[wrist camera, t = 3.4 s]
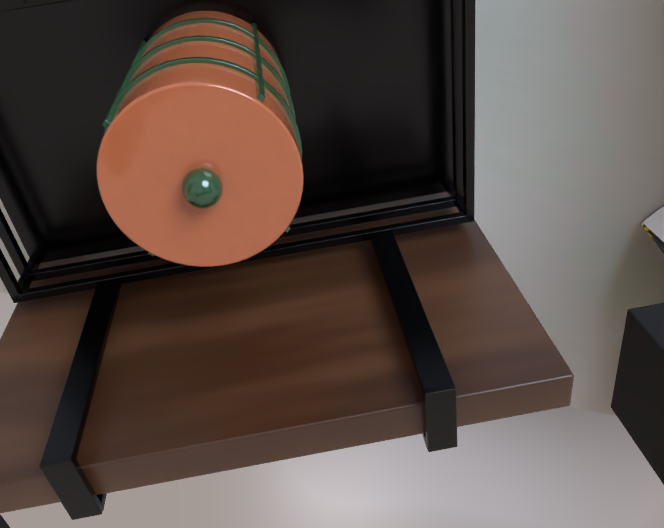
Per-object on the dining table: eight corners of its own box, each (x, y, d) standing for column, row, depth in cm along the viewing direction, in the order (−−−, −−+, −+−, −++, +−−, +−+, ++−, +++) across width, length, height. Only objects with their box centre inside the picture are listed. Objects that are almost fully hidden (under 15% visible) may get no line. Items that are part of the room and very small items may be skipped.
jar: (112, 21, 24) (49, 111, 16) (272, -6, 24) (291, 71, 16) (158, 167, 27) (126, 303, 19) (298, 143, 28) (324, 267, 20)
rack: (47, 109, 36) (-159, 399, 17) (408, 48, 37) (590, 263, 18) (105, 252, 42) (-2, 587, 23) (416, 197, 42) (561, 479, 23)
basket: (-90, -2, 23) (-380, 134, 12) (446, -88, 24) (623, -31, 13) (56, 299, 31) (-41, 542, 20) (452, 229, 32) (564, 427, 21)
